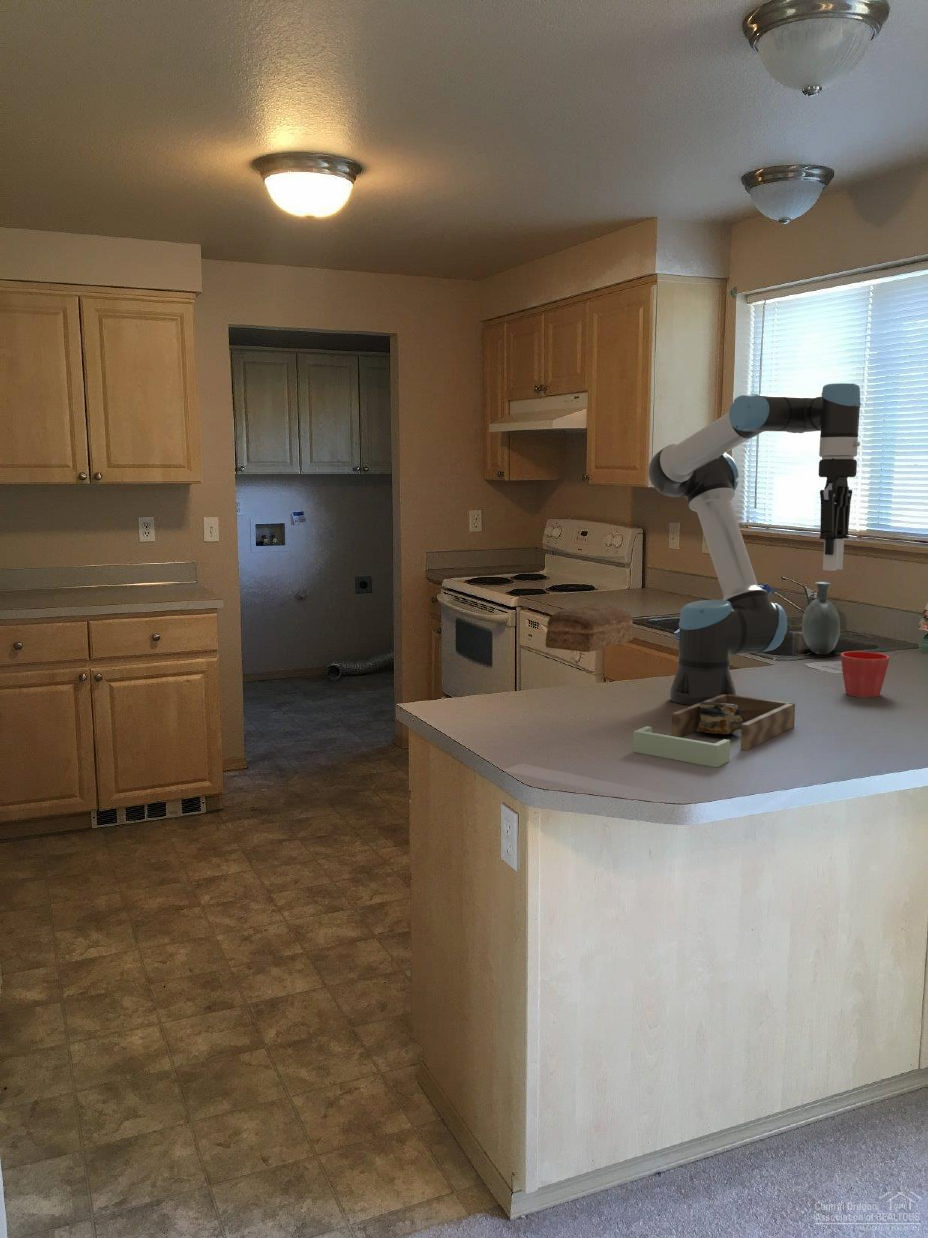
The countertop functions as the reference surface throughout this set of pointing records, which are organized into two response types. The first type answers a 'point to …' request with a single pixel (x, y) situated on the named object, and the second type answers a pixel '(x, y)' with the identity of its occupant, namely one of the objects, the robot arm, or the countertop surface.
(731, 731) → the rock
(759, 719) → the cubby
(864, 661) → the flower pot
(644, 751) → the bracket
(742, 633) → the robot arm
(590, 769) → the countertop surface
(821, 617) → the flask
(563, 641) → the bread
